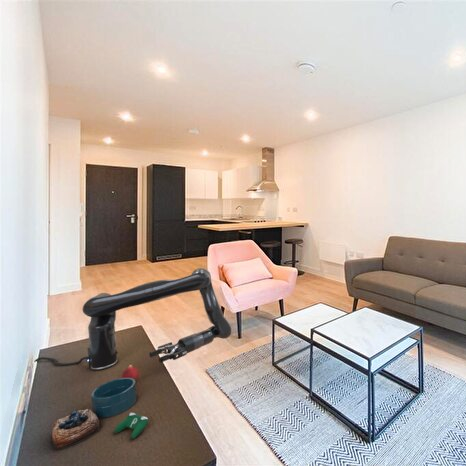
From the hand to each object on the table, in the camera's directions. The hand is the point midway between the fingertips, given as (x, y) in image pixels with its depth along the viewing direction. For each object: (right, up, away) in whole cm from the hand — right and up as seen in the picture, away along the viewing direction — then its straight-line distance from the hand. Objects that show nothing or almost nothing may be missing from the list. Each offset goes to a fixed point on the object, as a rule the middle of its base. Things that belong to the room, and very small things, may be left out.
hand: (154, 357), depth 127 cm
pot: (-1, -9, -20) cm, 22 cm away
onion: (-5, -8, -7) cm, 12 cm away
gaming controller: (+15, -10, -32) cm, 37 cm away
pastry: (-3, -10, -33) cm, 35 cm away
